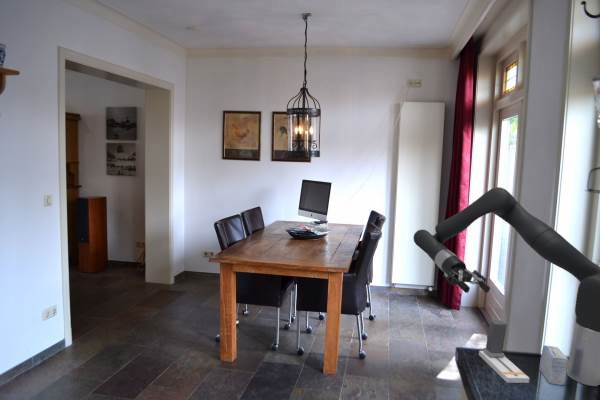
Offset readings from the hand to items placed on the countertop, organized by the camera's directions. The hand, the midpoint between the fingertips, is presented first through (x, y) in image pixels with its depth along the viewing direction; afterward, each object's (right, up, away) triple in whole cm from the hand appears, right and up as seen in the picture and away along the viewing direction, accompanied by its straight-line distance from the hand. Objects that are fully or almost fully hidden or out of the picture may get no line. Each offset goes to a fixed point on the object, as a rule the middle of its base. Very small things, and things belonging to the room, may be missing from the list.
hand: (478, 290), depth 140 cm
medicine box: (+18, -25, -11) cm, 32 cm away
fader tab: (+4, -20, -3) cm, 21 cm away
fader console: (+4, -23, -8) cm, 25 cm away
